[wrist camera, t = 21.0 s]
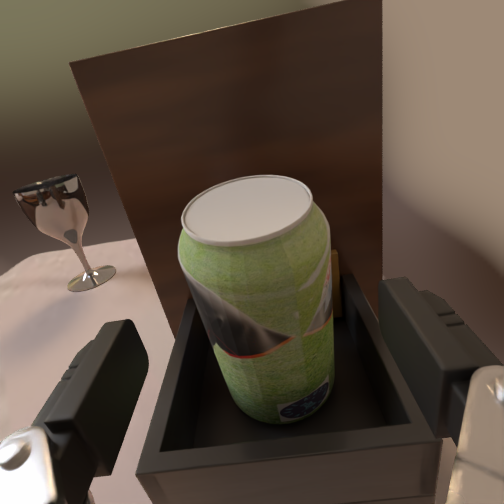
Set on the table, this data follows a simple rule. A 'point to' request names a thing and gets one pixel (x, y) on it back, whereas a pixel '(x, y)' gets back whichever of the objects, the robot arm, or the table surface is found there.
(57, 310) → the table surface
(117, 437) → the robot arm
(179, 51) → the wooden backboard stand
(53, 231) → the wine glass
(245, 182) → the beverage can
